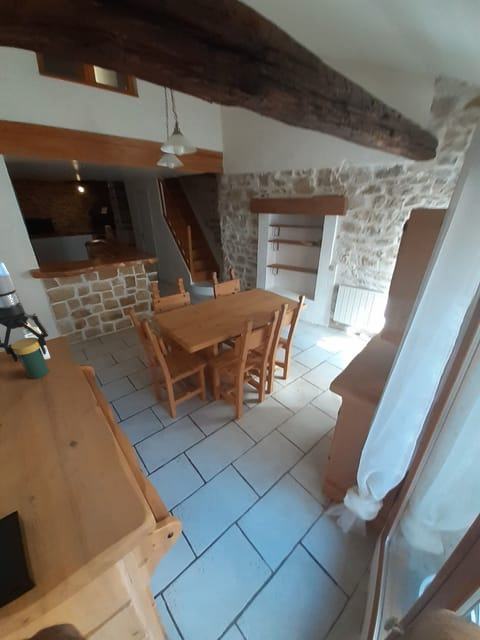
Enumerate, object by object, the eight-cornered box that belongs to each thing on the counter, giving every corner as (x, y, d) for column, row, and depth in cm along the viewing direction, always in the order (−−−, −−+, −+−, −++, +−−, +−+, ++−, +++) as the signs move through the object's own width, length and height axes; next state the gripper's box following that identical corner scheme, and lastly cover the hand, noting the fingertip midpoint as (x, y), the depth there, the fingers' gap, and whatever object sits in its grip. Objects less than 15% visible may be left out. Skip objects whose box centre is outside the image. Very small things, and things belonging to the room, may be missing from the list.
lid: (38, 340, 105) (36, 335, 103) (43, 348, 99) (40, 342, 98) (12, 348, 99) (9, 342, 98) (15, 357, 94) (12, 351, 93)
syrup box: (33, 357, 115) (21, 330, 108) (49, 352, 118) (38, 325, 112) (35, 363, 111) (22, 335, 104) (51, 358, 115) (40, 330, 108)
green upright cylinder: (26, 381, 101) (11, 351, 94) (30, 370, 107) (17, 341, 100) (47, 376, 103) (34, 346, 97) (50, 366, 109) (39, 338, 103)
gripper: (43, 295, 99) (61, 343, 109) (-31, 307, 88) (-3, 360, 98) (43, 301, 93) (62, 352, 104) (-36, 315, 83) (-6, 370, 93)
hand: (30, 356), depth 101 cm, fingers closed on lid, 8 cm apart
